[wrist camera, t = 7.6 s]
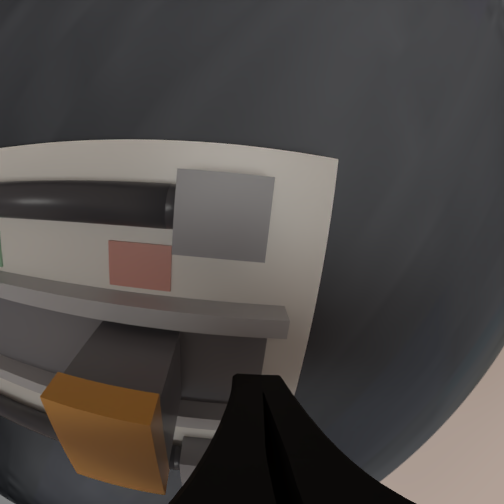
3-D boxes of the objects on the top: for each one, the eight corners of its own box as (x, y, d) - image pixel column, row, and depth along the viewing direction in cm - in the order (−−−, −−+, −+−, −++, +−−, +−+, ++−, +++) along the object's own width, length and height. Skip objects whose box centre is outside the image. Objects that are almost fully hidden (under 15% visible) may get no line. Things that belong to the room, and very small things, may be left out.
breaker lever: (114, 388, 9) (77, 473, 5) (103, 314, 9) (39, 396, 4) (181, 399, 10) (165, 495, 5) (180, 325, 9) (150, 425, 5)
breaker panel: (-28, 379, 11) (-50, 403, 8) (-66, 163, 8) (-103, 168, 5) (268, 450, 13) (275, 496, 10) (323, 161, 9) (360, 157, 6)
